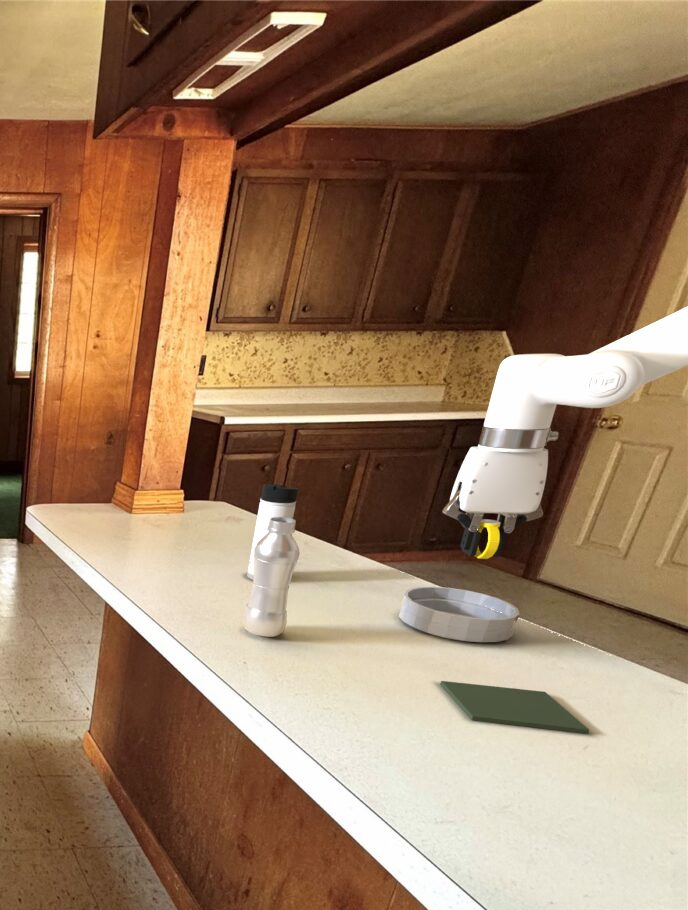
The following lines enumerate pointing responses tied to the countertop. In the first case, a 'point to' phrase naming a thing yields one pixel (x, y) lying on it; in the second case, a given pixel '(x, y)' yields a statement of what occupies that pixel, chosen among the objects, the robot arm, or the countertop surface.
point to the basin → (458, 614)
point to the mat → (512, 707)
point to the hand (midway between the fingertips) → (479, 553)
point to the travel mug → (272, 512)
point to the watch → (489, 538)
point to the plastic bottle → (272, 579)
